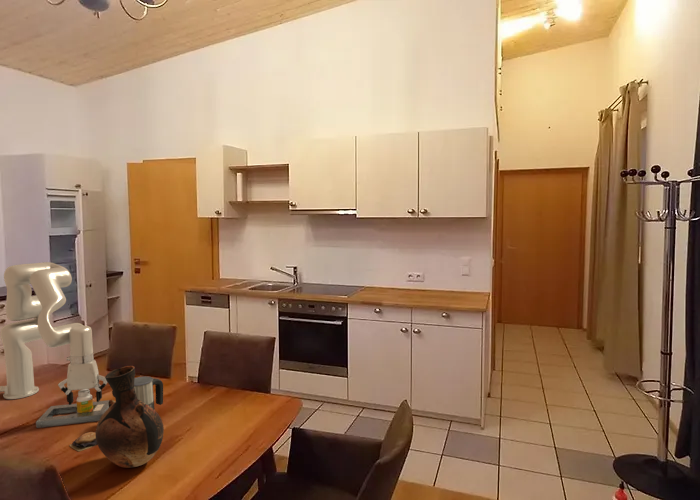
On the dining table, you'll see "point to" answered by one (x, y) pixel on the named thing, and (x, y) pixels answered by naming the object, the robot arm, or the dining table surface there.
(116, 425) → the ceramic vessel
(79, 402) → the supplement bottle
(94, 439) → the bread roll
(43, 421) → the grey rectangular frame
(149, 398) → the milk frother
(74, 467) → the dining table surface
